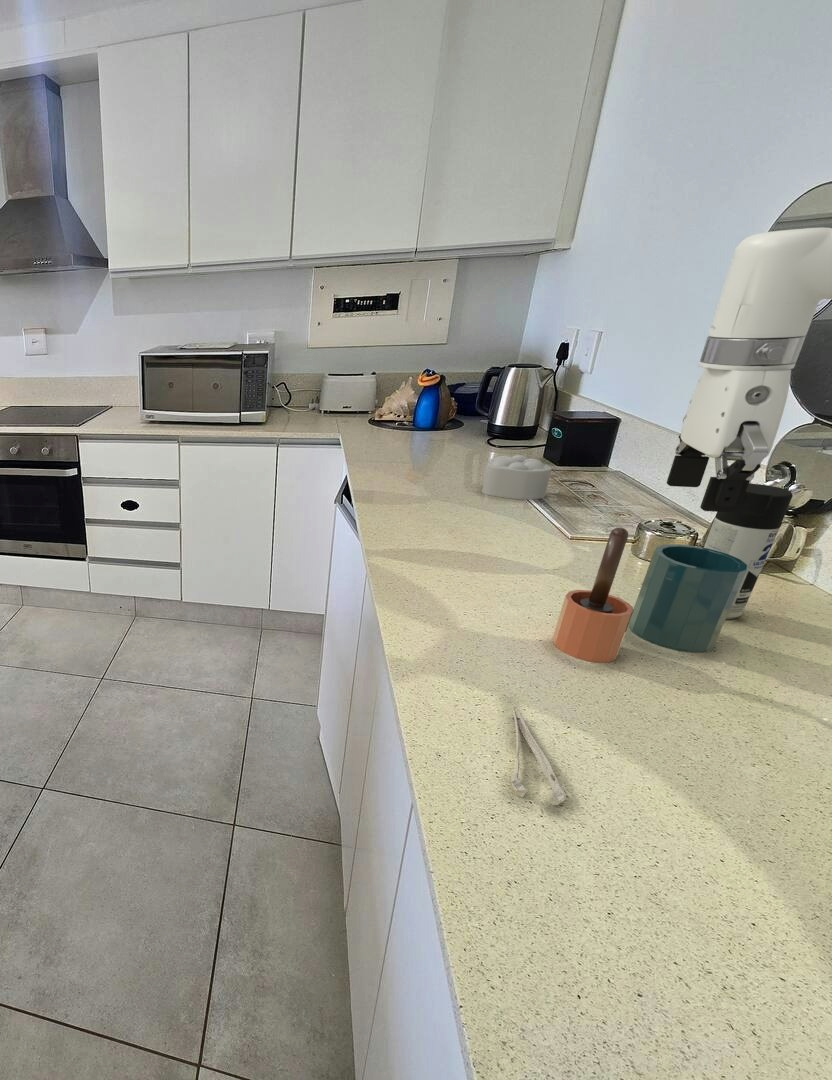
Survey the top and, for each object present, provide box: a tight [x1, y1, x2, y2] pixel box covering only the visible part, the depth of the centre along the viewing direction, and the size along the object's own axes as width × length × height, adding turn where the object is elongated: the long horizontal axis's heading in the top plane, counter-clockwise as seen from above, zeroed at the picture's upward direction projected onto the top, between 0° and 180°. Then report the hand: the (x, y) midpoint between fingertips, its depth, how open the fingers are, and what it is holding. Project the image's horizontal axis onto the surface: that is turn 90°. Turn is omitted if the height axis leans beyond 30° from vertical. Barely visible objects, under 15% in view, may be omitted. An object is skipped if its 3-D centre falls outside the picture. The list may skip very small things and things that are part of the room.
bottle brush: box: [579, 527, 629, 613], centre depth 78 cm, size 4×4×18 cm
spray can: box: [703, 482, 794, 620], centre depth 87 cm, size 7×7×20 cm
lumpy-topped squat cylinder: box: [481, 454, 553, 501], centre depth 142 cm, size 10×13×9 cm
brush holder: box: [551, 589, 634, 664], centre depth 81 cm, size 7×7×8 cm
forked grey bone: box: [510, 706, 567, 806], centre depth 66 cm, size 17×5×2 cm, turn 155°
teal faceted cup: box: [628, 543, 747, 654], centre depth 82 cm, size 9×9×13 cm
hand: (699, 497), depth 71 cm, fingers open, 9 cm apart
